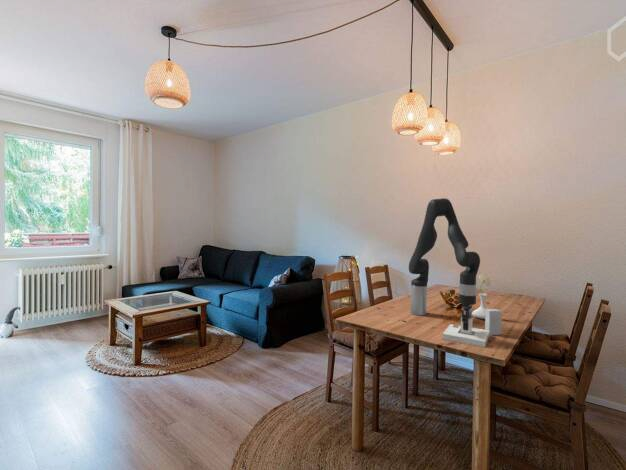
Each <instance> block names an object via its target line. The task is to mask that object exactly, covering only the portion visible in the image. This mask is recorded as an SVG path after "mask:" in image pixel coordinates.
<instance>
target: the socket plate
mask: <svg viewBox="0 0 626 470" xmlns="http://www.w3.org/2000/svg"><path fill="white" fill-rule="evenodd" d="M460 331H461V325H458V324H452V323H450V324H449V325H448V326H447V327H446V329H445V330H444V332H443V333H442V340H445V341H451V342H456V343H461V344H465V345H466V344H467V345H471V346H475V345H476V346H477V347H481V346H482V348H486V346H487V343H488V341H489V338H490V335H489V332H490V331H488V330H485V329H481V328H476V327H472V333H471V334H465V333H460Z"/></svg>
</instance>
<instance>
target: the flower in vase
mask: <svg viewBox="0 0 626 470" xmlns="http://www.w3.org/2000/svg"><path fill="white" fill-rule="evenodd" d="M478 277H479V280H480V282H481V284H480V286H478V288H477V290H479V291H480V292H481V293H478V296H479V297H480V306H479V307H478V308H476V309H475V310H472V316H473V317H475V318H478V319H483V320H485V309H488V308H487V307H486V299H487V297H488V296H489V294H488V293H483V292H485V291H487V290H488V289H487V288H486V289H484V290H482V286H483V285H485V287H490V286H491V282H490V279H489V278H488V277H487V276H486V275H483V273H482V274H479V275H478Z"/></svg>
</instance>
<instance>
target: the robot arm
mask: <svg viewBox="0 0 626 470" xmlns="http://www.w3.org/2000/svg"><path fill="white" fill-rule="evenodd" d="M437 217H445V218H446V221H447V222H448V223H447V224H448V225H447V238H448V240H449V242H450V244H451V246H452V247H453V250H454V252H453V253H454V255H455V260H456V262H457V263H458V265H459V266H461V267H463V268H465V270H463V271H461V272H460V273H459V287H458V303H460V304H461V305H462V304H463V306H462V307H461V315H462V322H463V330H468V323H469V318H470V315H472V312H473V305H476V304H477V275H478V272H479V269H480V268H479V267H480V265H481V257H480V255H479V253H477V252H476V251H468V250H467V249H468V247H469V242H468V240H467V237H466V236H465V235H464V233H463V231H462V228H461V226H460V224H459V221H458V218H457V217H458V216H457V215H456V212H455V209H454V206H453V204H452V202H451V201H450V200H449V199H448V198H435V199H434V198H433V199H431V200H430V201H429V202H428V204H427V206H426V211H425V217H424V220H423V224H422V228H421V230H420V233H419V236H418V239H417V242H416V246H415V249H414V251H413V254H412V255H411V257H410V260H409V263H408V272H409V273H410V274H412V275H419V276H417V277H415V278H413V279H412V280H411V284H410V287H411V288H410V314H411V315H415V316H425V315H427V314H428V313H427V311H428V310H427V309H428V307H427V305H428V301H427V300H428V282H429V272H430V271H429V270H430V264H429V261H428V259H426V258H423V257H424V256H425V255H426V254H427V253H429V252H430V251H431V250H432V249H433V248H434V246H435V244H436V241H437V238H438V232H437V229H436V227H435V222H436V219H437ZM468 315H469V316H468ZM472 316H473V315H472ZM464 318H467V320H466V319H464Z"/></svg>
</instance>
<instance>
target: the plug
mask: <svg viewBox="0 0 626 470" xmlns="http://www.w3.org/2000/svg"><path fill="white" fill-rule="evenodd" d="M468 316H469V315H468ZM473 317H474V316H473V315H470V318H469V323H468V330H463V322H462V314H461V315H460V326H461V331H460V333H465V334H471V333H472V328H473V324H474V323H473V322H474V321H473ZM464 319H466V320H467V318H464Z"/></svg>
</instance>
